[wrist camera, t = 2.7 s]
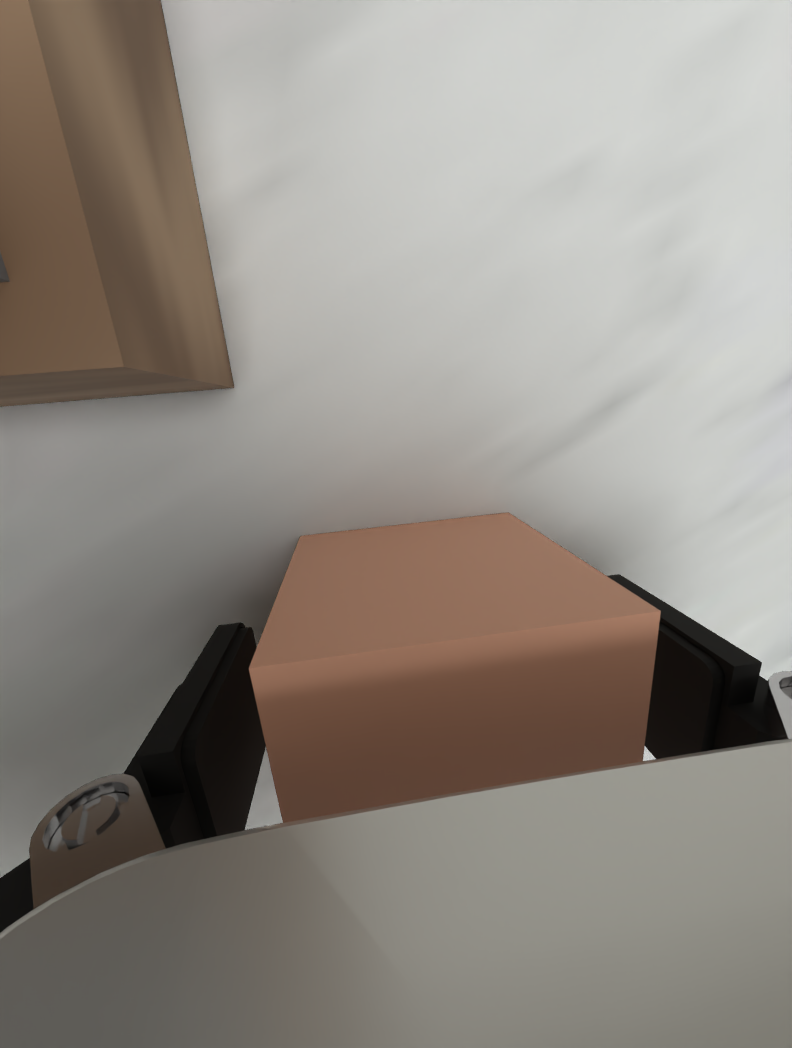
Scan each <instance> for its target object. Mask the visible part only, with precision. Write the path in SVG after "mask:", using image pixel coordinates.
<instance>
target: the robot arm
mask: <svg viewBox="0 0 792 1048" xmlns="http://www.w3.org/2000/svg"><path fill="white" fill-rule="evenodd" d="M607 577H609V578H610V579H612V580H614V581H615V582H617V583H618V584H620V585H621V586H623V587H624V588H626V589H627V590H629V591H631V592H632V593H634V594H635V595H637V596H638V597H640V598H641V599H643V600H644V601H646V602H648V603H649V604H651V605H652V606H654V607H655V608H657V609H658V610H660V611H661V614H660V622H659V630H658V639H657V647H656V655H655V663H654V672H653V680H652V688H651V696H650V704H649V713H648V721H647V729H646V737H645V746H646V748H647V749H648V750H649V751H650V752H651V753H652V755H653V756H654V757H655V758H656V759H655V760H648V761H642V762H636V763H630V764H624V765H618V766H611V767H605V768H599V769H593V770H587V771H581V772H575V773H569V774H563V775H557V776H551V777H545V778H539V779H533V780H527V781H521V782H515V783H509V784H503V785H498V786H492V787H486V788H480V789H474V790H468V791H462V792H456V793H450V794H445V795H439V796H433V797H427V798H422V799H416V800H410V801H405V802H399V803H393V804H387V805H382V806H376V807H370V808H365V809H359V810H353V811H347V812H342V813H336V814H330V815H325V816H319V817H313V818H308V819H302V820H297V821H291V822H285V823H280V824H274V825H269V826H263V827H258V828H253V829H249V830H245V826H246V822H247V818H248V814H249V810H250V806H251V802H252V798H253V794H254V790H255V786H256V783H257V779H258V775H259V771H260V767H261V763H262V759H263V755H264V751H265V747H266V744H265V739H264V735H263V730H262V726H261V722H260V717H259V713H258V708H257V704H256V699H255V695H254V690H253V686H252V681H251V677H250V672H249V666H250V664H251V661H252V659H253V656H254V653H255V651H256V643H255V638H254V633H253V630H252V628H251V627H248V628H245V626H244V624H243V623H234V624H227V625H219V626H218V627H217V628H216V630H215V631H214V633H213V635H212V636H211V638H210V640H209V641H208V643H207V644H206V646H205V648H204V649H203V651H202V653H201V654H200V656H199V657H198V659H197V661H196V662H195V664H194V666H193V667H192V669H191V670H190V672H189V674H188V675H187V677H186V679H185V680H184V682H183V683H182V684H181V685H179V687H178V688H177V689H176V690H175V692H174V694H173V695H172V697H171V698H170V700H169V702H168V703H167V705H166V706H165V708H164V710H163V711H162V713H161V714H160V716H159V718H158V719H157V721H156V722H155V724H154V726H153V727H152V729H151V730H150V732H149V734H148V735H147V737H146V738H145V740H144V742H143V743H142V745H141V746H140V748H139V750H138V751H137V753H136V754H135V756H134V758H133V759H132V761H131V762H130V764H129V766H128V767H127V769H126V770H125V772H124V774H112V775H109V776H105V777H102V778H98V779H96V780H94V781H92V782H90V783H88V784H85V785H83V786H81V787H80V788H78V789H77V790H75V791H74V792H72V793H71V794H69V795H68V796H66V797H65V798H64V799H63V800H61V801H60V802H59V803H58V804H57V805H56V806H55V807H53V808H52V809H51V810H50V811H49V813H48V814H47V815H46V816H45V817H44V818H43V819H42V821H41V822H40V823H39V825H38V826H37V828H36V830H35V832H34V834H33V835H32V837H31V843H30V848H29V853H30V858H29V859H27V860H26V861H25V862H23V863H22V864H20V865H19V866H17V867H16V868H14V869H13V870H11V871H10V872H9V873H7V874H6V875H4V876H3V877H1V878H0V1048H792V671H782V672H778V673H775V674H773V675H772V676H771V677H770V678H769V680H768V681H767V680H765V679H764V678H762V677H761V676H759V673H760V669H761V664H762V662H760V661H759V660H757V659H756V658H754V657H752V656H751V655H749V654H747V653H746V652H744V651H743V650H741V649H739V648H738V647H736V646H734V645H733V644H731V643H730V642H728V641H726V640H725V639H723V638H722V637H720V636H718V635H717V634H715V633H713V632H712V631H710V630H709V629H707V628H705V627H704V626H702V625H700V624H699V623H697V622H696V621H694V620H692V619H691V618H689V617H688V616H686V615H684V614H683V613H681V612H679V611H678V610H676V609H675V608H673V607H671V606H670V605H668V604H667V603H665V602H663V601H662V600H660V599H658V598H657V597H655V596H654V595H652V594H650V593H649V592H647V591H645V590H644V589H642V588H641V587H639V586H637V585H636V584H634V583H633V582H631V581H629V580H628V579H626V578H624V577H623V576H621V575H610V576H607Z"/></svg>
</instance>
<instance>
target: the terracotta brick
mask: <svg viewBox="0 0 792 1048" xmlns="http://www.w3.org/2000/svg"><path fill="white" fill-rule="evenodd" d="M660 614H661V611H660V610H658V609H657V608H655V607H654V606H652V605H651V604H649V603H648V602H646V601H644V600H643V599H641V598H640V597H638V596H637V595H635V594H634V593H632V592H631V591H629V590H627V589H626V588H624V587H623V586H621V585H620V584H618V583H617V582H615V581H614V580H612V579H610V578H609V577H607V576H606V575H604V574H603V573H601V572H600V571H598V570H596V569H595V568H593V567H592V566H590V565H589V564H587V563H586V562H584V561H583V560H581V559H579V558H578V557H576V556H575V555H573V554H572V553H570V552H569V551H567V550H566V549H564V548H562V547H561V546H559V545H558V544H556V543H555V542H553V541H552V540H550V539H549V538H547V537H545V536H544V535H542V534H541V533H539V532H538V531H536V530H535V529H533V528H532V527H530V526H528V525H527V524H525V523H524V522H522V521H521V520H519V519H518V518H516V517H515V516H513V515H511V514H510V513H499V514H490V515H481V516H472V517H463V518H454V519H446V520H437V521H428V522H419V523H410V524H401V525H392V526H384V527H375V528H366V529H357V530H348V531H339V532H330V533H322V534H313V535H304V536H300V538H299V541H298V543H297V546H296V548H295V551H294V553H293V556H292V559H291V561H290V564H289V566H288V569H287V571H286V574H285V576H284V579H283V582H282V584H281V587H280V589H279V592H278V594H277V597H276V600H275V602H274V605H273V607H272V610H271V612H270V615H269V618H268V620H267V623H266V625H265V628H264V630H263V633H262V636H261V638H260V641H259V643H258V646H257V648H256V651H255V653H254V656H253V659H252V661H251V664H250V666H249V672H250V677H251V681H252V686H253V690H254V695H255V699H256V704H257V708H258V713H259V717H260V722H261V726H262V730H263V735H264V739H265V744H266V748H267V753H268V757H269V762H270V766H271V771H272V775H273V780H274V784H275V789H276V793H277V798H278V802H279V807H280V811H281V816H282V820H283V823H285V822H291V821H297V820H302V819H308V818H313V817H319V816H325V815H330V814H336V813H342V812H347V811H353V810H359V809H365V808H370V807H376V806H382V805H387V804H393V803H399V802H405V801H410V800H416V799H422V798H427V797H433V796H439V795H445V794H450V793H456V792H462V791H468V790H474V789H480V788H486V787H492V786H498V785H503V784H509V783H515V782H521V781H527V780H533V779H539V778H545V777H551V776H557V775H563V774H569V773H575V772H581V771H587V770H593V769H599V768H605V767H611V766H618V765H624V764H630V763H636V762H642V761H643V754H644V746H645V737H646V729H647V721H648V713H649V704H650V696H651V688H652V680H653V672H654V663H655V655H656V647H657V639H658V630H659V622H660Z"/></svg>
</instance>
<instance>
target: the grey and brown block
mask: <svg viewBox="0 0 792 1048" xmlns="http://www.w3.org/2000/svg"><path fill="white" fill-rule="evenodd" d="M225 388H234V384H233V379H232V373H231V368H230V363H229V358H228V352H227V347H226V342H225V337H224V331H223V326H222V321H221V316H220V310H219V305H218V300H217V295H216V289H215V284H214V279H213V274H212V268H211V263H210V258H209V253H208V247H207V242H206V237H205V232H204V226H203V221H202V216H201V211H200V205H199V200H198V195H197V190H196V184H195V179H194V174H193V168H192V163H191V158H190V153H189V147H188V142H187V137H186V132H185V126H184V121H183V116H182V111H181V105H180V100H179V95H178V90H177V84H176V79H175V74H174V69H173V63H172V58H171V53H170V48H169V42H168V37H167V32H166V27H165V21H164V16H163V11H162V6H161V0H0V407H2V406H14V405H27V404H39V403H51V402H64V401H76V400H88V399H101V398H113V397H126V396H138V395H150V394H163V393H175V392H188V391H200V390H212V389H225Z"/></svg>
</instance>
